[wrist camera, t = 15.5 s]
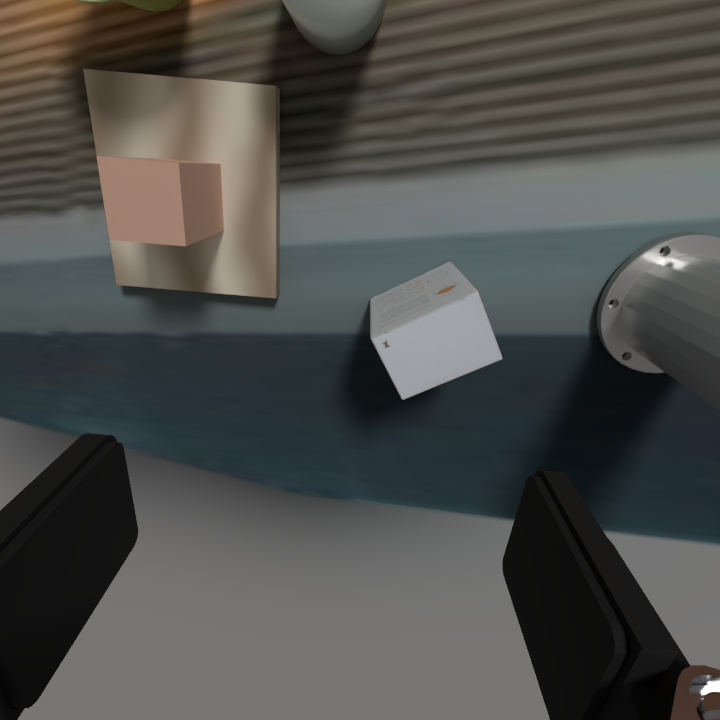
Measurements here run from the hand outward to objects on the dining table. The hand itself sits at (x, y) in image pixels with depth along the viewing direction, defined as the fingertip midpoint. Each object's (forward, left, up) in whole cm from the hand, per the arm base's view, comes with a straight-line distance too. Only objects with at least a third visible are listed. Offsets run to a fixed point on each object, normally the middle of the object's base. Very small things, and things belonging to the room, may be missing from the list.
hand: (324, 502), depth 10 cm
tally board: (+14, -4, -30) cm, 34 cm away
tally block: (+14, -4, -29) cm, 32 cm away
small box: (-6, +4, -31) cm, 31 cm away
